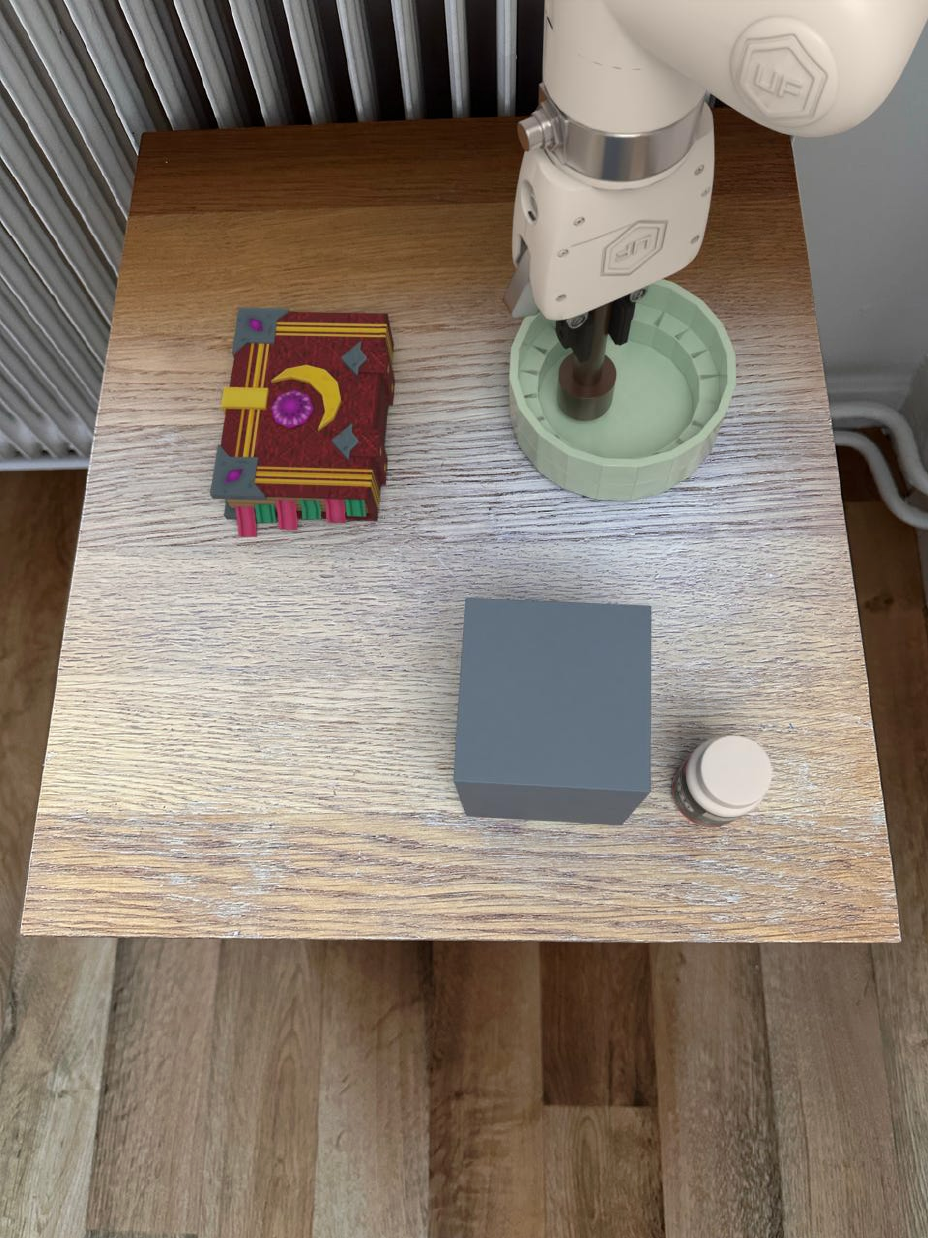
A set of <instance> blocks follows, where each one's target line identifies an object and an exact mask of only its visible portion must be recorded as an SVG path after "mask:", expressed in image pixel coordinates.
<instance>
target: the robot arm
mask: <svg viewBox="0 0 928 1238" xmlns="http://www.w3.org/2000/svg"><path fill="white" fill-rule="evenodd" d="M543 12H544V13H543V14H544V15H543V46H542V47H543V48H542V49H543V50H542V74H541V75H542V76H541V77H542V79H541V83H539V84H538V103H537V104H538V106H537V107H536V109H535V110H534V112H532V113H530V115H529V117H527V118H525V119H523V120H520V121H518V122H517V124H516V131H517V136H518V140H519V143H520V145H521V147H522V148H523V150H524V153H523V156H522V157H523V158H522V161H521V166H520V169H519V175H518V180H517V186H516V193H515V199H514V207H513V219H512V233H511V234H512V235H511V249H512V250H511V252H512V253H511V254H512V262H513V266H514V268H515V271H514V273H513V276H512V277H511V280H510V282H509V283H508V286H507V288H506V290H505V292H504V293H503V296H502V303H503V305H504V307H505V308H506V309H507V311H508V313H509V314H510V316H511V318H513V319H520V318H525V317H528V316H534V315H537V314H538V313H541V312H542V314H543V315H544V316H545V318H546V319H549V320H556V327H555V330H556V335H557V337H558V340H559V341H560V343H561V345H562V346H563V348H564V349H568V348H571V349H572V351H573V352H574V354H575V356H576V357H577V359H578V361H579V362H580V363H583V362H585V361H587V360H589V357H591V350H592V342H593V334H594V327H595V325H594V321H593V319H592V318H591V316H590V315H589V313H588V311H591V310H593V309H595V308H598V307H600V306H602V305H605V304H607V303H609V302H611V301H613V304H612V311H611V318H610V324H609V331H608V334H609V336H610V337H611V339H612V340H613V342H614V344H615V345H619V346H621V345H623V344H625V343H627V342H628V337H629V332H630V326H631V321H632V320H633V316H634V311H635V305H636V302H637V301H639V300H641V299H642V298H643V297H644V296H645V295H646V294H647V292H648V288H649V285H650V284H652V283H654V282H657V281H659V280H661V279H665V278H667V277H669V276H671V275H674V274H676V273H677V272H679V271H681V270H683V269H684V268H686V267H687V266H688V265H689V264H691V263H692V262H693V261H694V260H695V258H696V257H697V256H698V254H699V251H700V249H701V246H702V243H703V241H704V237H705V232H706V227H707V223H708V220H709V219H708V218H709V213H710V208H711V200H712V195H713V185H714V178H715V177H714V175H715V132H714V131H715V130H714V129H715V128H714V117H713V112H712V110H711V107H710V106H709V104H708V103H707V102H706V96H707V93H710V95H712V96H714V97H715V98H717V99H718V100H720V101H721V102H722V103H724V104H725V105H727V106H729V107H731V108H732V109H733V110H735V111H736V112H738V113H739V114H740V115H743V116H744V117H745V118H748V119H750V120H752V121H753V122H755V123H757V124H759V125H760V126H763V127H766V128H768V129H770V130H772V131H776V132H778V133H780V134H784V135H788V136H793V137H799V138H803V139H820V138H826V137H832V136H836V135H839V134H842V133H844V132H847V131H849V130H852V129H853V128H855V127H856V126H858V125H859V124H861V123H862V122H864V121H865V120H867V119H868V118H869V117H870V116H871V115H872V114H874V113H875V111H877V109H878V108H879V107H881V105H882V104H883V103H884V102H885V100H887V98H888V96H889V95H890V94H891V92H892V90H893V89H894V87H895V86H896V84H897V82H898V81H899V80H900V78H901V75H902V73H903V72H904V69H905V67H906V65H907V64H908V62H909V60H910V58H911V56H912V53H913V51H914V49H915V47H916V45H917V43H918V41H919V38H920V36H921V34H922V32H923V30H924V28H925V25H926V23H927V21H928V0H544V11H543Z"/></svg>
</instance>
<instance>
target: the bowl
mask: <svg viewBox="0 0 928 1238" xmlns="http://www.w3.org/2000/svg"><path fill="white" fill-rule="evenodd" d="M555 327H556V320H549V319H546V318H545V316H544V315H543V314H542V312H541V313H538V314H537V315H534V316H528V317H524V318H523V320H522V321H521V323H520V326H519V328H518V330H517V333H516V335H515V337H514V340H513V343H512V344H511V347H510V355H509V356H510V357H509V371H508V372H509V374H508V386H509V387H508V389H509V392H508V394H509V395H508V396H509V404H508V405H509V420H510V423H511V426H512V430H513V432H514V436H515V440H516V442H517V445H518V446H519V448H520V449H521V451H522V452H523V453H524V455H525V456H526V457H527V459H528V460H529V462H530V463H531V464H532V466H533V467H534V468H535V469H536V470H537V472H539V473H540V474H542V475H543V476H544V477H546V478H547V479H548V480H550V481H552V482H553V483H554V484H556V485H557V486H558V487H560V488H561V489H563V490H565V491H569V492H571V493H575V494H577V495H580V496H584V497H587V498H588V499H589V498H590V499H593V500H596V501H621V502H622V501H624V502H630V501H636V500H639V499H643V498H647V497H653V496H656V495H659V494H663V493H665V492H667V491H669V490H671V489H672V488H674V487H675V486H676V485H678V484H680V483H682V482H683V481H684V480H687V479H688V478H689V477H691V476H692V475H693V474H694V473H695V472H696V470H697V469H698V468H699V467H700V466H701V464H702V463H703V462H704V461H705V459H707V458H708V456H709V455H710V453H711V452H712V451H713V448H714V446H715V443H716V441H717V438H718V435H719V432H720V430H721V427H722V425H723V423H724V420H725V417H726V416H727V415H726V414H727V412H728V409H729V406H730V404H731V402H732V399H733V395H734V392H735V391H736V390H735V389H736V388H737V360H736V358H737V357H736V356H737V355H736V352H735V349H734V347H733V344H732V342H731V340H730V337H729V335H728V332H727V330H726V327H725V325H724V324H723V322H722V321H721V320H720V319H719V317H718V316H717V315H716V314H715V313H714V312H713V310H712V309H711V308H710V307H709V306H708V305H707V304H706V303H705V302H704V301H703V300H702V299H701V298H700V297H699V296H696V295H695V294H693V293H692V292H690V291H689V290H687V289H685V288H684V287H682V286H680V285H679V284H677V283H676V282H673V281H670V280H668V279H665V278H663V279H661V280H659V281H657V282H654V283H652V284H650V285H649V288H648V292H647V294H646V295H645V296H644V297H643V298H642V299H641V300H639V301H637V302H636V305H635V311H634V316H633V320H632V321H631V326H630V332H629V337H628V342H627V343H625V344H623V345H621V346H619V345H615V344H614V342H613V340H612V339H611V337H610V336H609V334H608V338H607V344H606V351H605V355H607V356H608V357H609V358H610V359H611V360H612V362H613V363H614V365H615V368H616V374H617V375H616V382H615V388H614V394H613V400H612V404H611V406H610V408H609V410H608V411H607V412H606V413H605V414H604V415H602V416H601V417H599V418H597V419H595V420H591V421H579V420H575V419H573V418H570V417H569V416H567V415H566V414H565V413H564V412H563V411H562V410H561V409H560V407H559V405H558V402H557V385H558V372H559V367H560V365H561V363H562V361H563V360H564V359H565V358H566V357H567V356H568V355H569V354H571V353H573V351H572V349H571V348H568V349H564V348H563V346H562V345H561V343H560V341H559V340H558V337H557V335H556V330H555Z"/></svg>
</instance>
